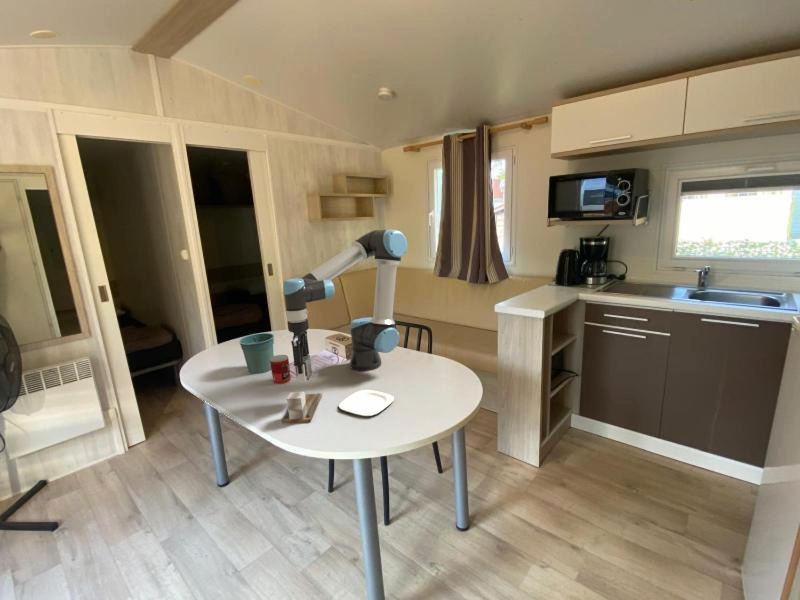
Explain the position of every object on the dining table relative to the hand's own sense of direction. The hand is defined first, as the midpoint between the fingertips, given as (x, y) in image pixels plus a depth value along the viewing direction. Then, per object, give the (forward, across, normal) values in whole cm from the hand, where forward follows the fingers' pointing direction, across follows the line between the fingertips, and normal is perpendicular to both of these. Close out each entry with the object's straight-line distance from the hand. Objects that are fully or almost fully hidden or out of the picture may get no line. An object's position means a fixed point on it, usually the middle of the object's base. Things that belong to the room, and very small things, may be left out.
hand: (304, 377), depth 147 cm
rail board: (+10, -6, 0) cm, 12 cm away
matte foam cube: (0, 0, 0) cm, 0 cm away
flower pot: (+11, +37, +32) cm, 50 cm away
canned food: (+11, +22, +17) cm, 30 cm away
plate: (+11, -5, -24) cm, 27 cm away
